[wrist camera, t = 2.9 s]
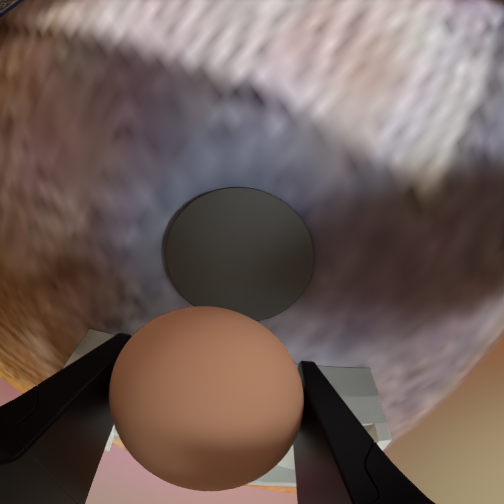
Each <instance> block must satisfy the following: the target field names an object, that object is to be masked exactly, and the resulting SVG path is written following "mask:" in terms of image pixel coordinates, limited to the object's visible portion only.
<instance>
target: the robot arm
mask: <svg viewBox="0 0 504 504" xmlns="http://www.w3.org/2000/svg"><path fill="white" fill-rule="evenodd" d="M131 337H132V336H131V335H129V334H125V333H118V334H116V335H115V336H113V337H112V338H110V339H109V340H107V341H105V342H104V343H102V344H101V345H99V346H98V347H96V348H95V349H93V350H91V351H90V352H88V353H87V354H85V355H84V356H82V357H80V358H79V359H77V360H76V361H74V362H73V363H71V364H69V365H68V366H66V367H65V368H63V369H62V370H60V371H59V372H57V373H55V374H54V375H52V376H51V377H49V378H48V379H46V380H44V381H43V382H41V383H40V384H38V387H37V386H35V387H33V388H32V389H30V390H29V391H27V392H26V393H24V394H22V395H21V396H19V397H17V398H16V399H14V400H12V401H10V402H8V403H6V404H4V405H2V406H0V504H85V502H86V499H87V496H88V493H89V490H90V487H91V485H92V481H93V479H94V476H95V473H96V471H97V468H98V465H99V462H100V460H101V457H102V454H103V452H104V449H105V447H106V444H107V441H108V439H109V436H110V434H111V431H112V429H113V426H114V423H113V420H112V416H111V411H110V404H109V385H110V380H111V375H112V371H113V367H114V365H115V363H116V360H117V358H118V356H119V354H120V352H121V350H122V349H123V347H124V346H125V344H126V343H127V342H128V341H129V339H130V338H131ZM298 372H299V375H300V378H301V382H302V387H303V394H304V409H303V417H302V423H301V426H300V429H299V431H298V434H297V437H296V439H295V441H294V443H293V451H294V463H295V475H296V487H297V500H298V504H435V503H434V502H432V501H431V500H430V499H429V498H427V497H426V496H425V495H424V494H423V493H422V492H421V491H420V490H419V489H418V488H417V487H416V486H415V485H414V484H413V483H412V482H411V481H410V480H409V479H408V478H407V477H406V476H405V475H404V474H403V473H402V472H401V471H400V470H399V469H398V468H397V467H396V466H395V465H394V464H393V463H392V462H391V461H390V459H389V458H388V457H387V456H386V455H385V453H384V452H383V451H382V450H381V448H380V447H379V446H378V444H377V443H376V442H374V439H373V438H372V437H371V436H370V434H369V433H368V432H367V430H366V429H365V428H364V427H363V425H362V424H361V423H360V421H359V420H358V419H357V417H356V416H355V415H354V414H353V412H352V411H351V410H350V408H349V407H348V406H347V404H346V403H345V402H344V401H343V399H342V398H341V397H340V395H339V394H338V393H337V391H336V390H335V389H334V387H333V386H332V385H331V383H330V382H329V381H328V380H327V378H326V377H325V376H324V374H323V373H322V372H321V370H320V369H319V368H318V366H317V365H316V364H315V363H314V362H312V361H301V362H300V363H299V366H298Z"/></svg>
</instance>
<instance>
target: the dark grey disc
mask: <svg viewBox="0 0 504 504" xmlns="http://www.w3.org/2000/svg"><path fill="white" fill-rule="evenodd" d="M166 259H167V265H168V270H169V273H170V276H171V278H172V280H173V282H174V284H175V286H176V287H177V289H178V290H179V292H180V293H181V294H182V295H183V297H184V298H185V299H186V300H187V301H188V302H190V303H191V304H192V305H193V306H194V307H197V306H210V307H219V308H224V309H229V310H232V311H235V312H238V313H241V314H243V315H245V316H248V317H250V318H252V319H253V320H255V321H260V320H264V319H268V318H270V317H273V316H275V315H277V314H279V313H281V312H283V311H284V310H286V309H287V308H289V307H290V306H291V305H292V304H293V303H295V302H296V301H297V299H298V298H299V297H300V296H301V295H302V293H303V292H304V290H305V289H306V287H307V285H308V283H309V281H310V278H311V275H312V271H313V265H314V252H313V245H312V241H311V238H310V235H309V232H308V230H307V228H306V226H305V224H304V223H303V221H302V219H301V218H300V217H299V215H298V214H297V213H296V212H295V211H294V210H293V209H292V208H291V207H290V206H289V205H288V204H286V203H285V202H284V201H282V200H281V199H279V198H277V197H275V196H273V195H271V194H269V193H267V192H264V191H261V190H258V189H253V188H246V187H229V188H223V189H218V190H215V191H212V192H209V193H207V194H205V195H203V196H201V197H199V198H197V199H196V200H195V201H193V202H192V203H191V204H189V205H188V206H187V207H186V208H185V209H184V210H183V211H182V213H181V214H180V215H179V216H178V218H177V219H176V221H175V223H174V224H173V226H172V228H171V231H170V233H169V236H168V241H167V248H166Z"/></svg>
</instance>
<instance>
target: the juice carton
mask: <svg viewBox="0 0 504 504" xmlns="http://www.w3.org/2000/svg"><path fill="white" fill-rule="evenodd" d="M23 1H24V0H0V18H1V17H2V16H3V15H5V14H6V13H7V12H9V11H10V10H11V9H13V8H14V7H16V6H17V5H18V4H20V3H21V2H23Z"/></svg>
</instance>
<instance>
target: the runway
mask: <svg viewBox="0 0 504 504" xmlns="http://www.w3.org/2000/svg"><path fill="white" fill-rule="evenodd" d="M113 336H115V335H112V334H108V333H104V332H100V331H96V330H93V329H89V330H88V331H87V333H86V334H85V336H84V337H83V339H82V340H81V342H80V343H79V345H78V346H77V347H76V349H75V350H74V352H73V353H72V355H71V356H70V358H69V359H68V361H67V362H66V364H65V366H64V367H63V368H65V367H66V366H68V365H69V364H71V363H73V362H74V361H76V360H77V359H79V358H80V357H82V356H84V355H85V354H87V353H88V352H90V351H91V350H93V349H95V348H96V347H98V346H99V345H101V344H102V343H104V342H105V341H107V340H109V339H110V338H112V337H113ZM298 366H299V365H298V364H296V367H297V369H298ZM318 368H319V369H320V370H321V372H322V373H323V374H324V376H325V377H326V378H327V380H328V381H329V382H330V383H331V385H332V386H333V387H334V389H335V390H336V391H337V393H338V394H339V395H340V397H341V398H342V399H343V401H344V402H345V403H346V404H347V406H348V407H349V408H350V410H351V411H352V412H353V414H354V415H355V416H356V417H357V419H358V420H359V421H360V423H361V424H362V425H363V427H364V428H365V429H366V430H367V432H368V433H369V434H370V436H371V437H372V438H373V439H374V442H376V443H377V444H378V446H379V447H380V448H381V450H382V451H383V450H384V448H385V447H386V446H387V445H388V444H389V443H390V442H391V440H392V438H391V434H390V431H389V427H388V424H387V420H386V417H385V413H384V410H383V407H382V403H381V400H380V397H379V394H378V391H377V387H376V384H375V381H374V378H373V375H372V372H371V369H370V368H345V367H325V366H318ZM114 436H117V437H119V435H118V433H117V431H116V429H115V426H113V429H112V431H111V434H110V436H109V439H108V441H107V444H106V447H105V449H104V450H106V451H109V449H110V447H111V444H112V442H113V439H114ZM248 484H251V485H266V486H296V475H295V463H294V451H293V445H292V446H291V448H290V450H289V451H288V453H287V454H286V455H285V456H284V458H283V459H282V460H281V461H280V462H279V463H278V464H277V465H276V466H275V467H274V468H273V469H271V470H270V471H269V472H268V473H266V474H265V475H263V476H262V477H260V478H258V479H257V480H255V481H253V482H251V483H248Z"/></svg>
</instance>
